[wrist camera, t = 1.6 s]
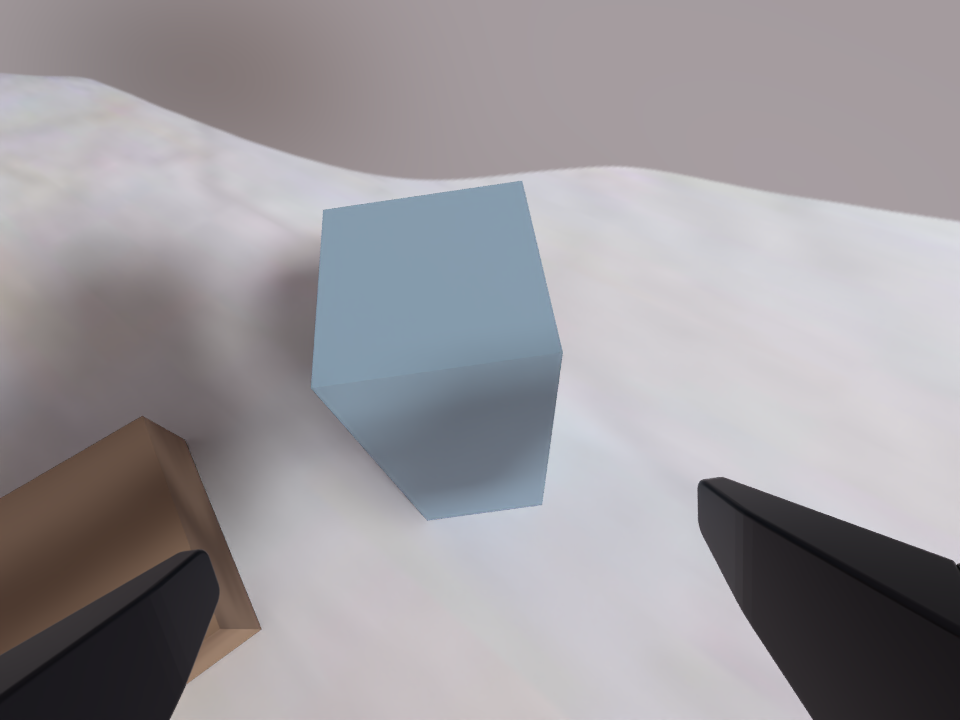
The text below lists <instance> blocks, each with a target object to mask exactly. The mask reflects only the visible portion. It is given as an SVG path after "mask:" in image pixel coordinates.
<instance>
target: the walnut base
mask: <svg viewBox="0 0 960 720" xmlns="http://www.w3.org/2000/svg"><path fill="white" fill-rule="evenodd" d="M196 549H203V550H205V551H206V552H207V553H208V555H209V557H210V560H211V563H212V566H213V569H214V571H215V574H216V577H217V580H218V583H219V588H220V595H219V600H218V603H217V606H216V608H215V611H214V614H213V616H212V619H211V622H210V624H209V627H208V629H207V632H206V635H205V637H204V640H203V643H202V645H201V648H200V650H199V653H198V656H197V658H196V661H195V664H194V666H193V669H192V671H191V674H190V676H189V679H188V681H187V683H189V682H190V681H191V680H193V679H194V678H195V677H197V676H198V675H200V674H201V673H202V672H204V671H205V670H206V669H208V668H209V667H211V666H212V665H213V664H215V663H216V662H217V661H219V660H220V659H221V658H223V657H224V656H226V655H227V654H228V653H230V652H231V651H232V650H234V649H235V648H237V647H238V646H239V645H241V644H242V643H243V642H245V641H246V640H247V639H249V638H250V637H252V636H253V635H254V634H256V633H257V632H258V631H260V630H261V627H260V625H259V622H258V620H257V617H256V615H255V612H254V610H253V607H252V605H251V602H250V600H249V597H248V595H247V593H246V590H245V588H244V585H243V583H242V580H241V578H240V575H239V573H238V570H237V568H236V565H235V563H234V560H233V558H232V555H231V553H230V551H229V548H228V546H227V543H226V541H225V538H224V536H223V533H222V531H221V528H220V526H219V523H218V521H217V518H216V516H215V514H214V511H213V509H212V506H211V504H210V501H209V499H208V496H207V494H206V491H205V489H204V486H203V484H202V481H201V479H200V477H199V474H198V472H197V469H196V467H195V464H194V462H193V459H192V457H191V454H190V452H189V449H188V447H187V444H186V442H185V440H184V439H182V438H181V437H179V436H177V435H175V434H174V433H172V432H170V431H168V430H166V429H165V428H163V427H161V426H159V425H158V424H156V423H154V422H152V421H150V420H149V419H147V418H145V417H143V416H141V417H140V418H138V419H136V420H134V421H133V422H131V423H129V424H128V425H126V426H124V427H122V428H121V429H119V430H117V431H116V432H114V433H112V434H110V435H109V436H107V437H105V438H103V439H102V440H100V441H98V442H97V443H95V444H93V445H91V446H90V447H88V448H86V449H85V450H83V451H81V452H79V453H78V454H76V455H74V456H73V457H71V458H69V459H67V460H66V461H64V462H62V463H60V464H59V465H57V466H55V467H54V468H52V469H50V470H48V471H47V472H45V473H43V474H42V475H40V476H38V477H36V478H35V479H33V480H31V481H30V482H28V483H26V484H24V485H23V486H21V487H19V488H17V489H16V490H14V491H12V492H11V493H9V494H7V495H5V496H4V497H2V498H0V655H1V654H3V653H5V652H7V651H8V650H10V649H12V648H13V647H15V646H17V645H19V644H20V643H22V642H24V641H26V640H27V639H29V638H31V637H33V636H34V635H36V634H38V633H40V632H41V631H43V630H45V629H47V628H48V627H50V626H52V625H53V624H55V623H57V622H59V621H60V620H62V619H64V618H66V617H67V616H69V615H71V614H73V613H74V612H76V611H78V610H80V609H81V608H83V607H85V606H86V605H88V604H90V603H92V602H93V601H95V600H97V599H99V598H100V597H102V596H104V595H106V594H107V593H109V592H111V591H113V590H114V589H116V588H118V587H120V586H121V585H123V584H125V583H126V582H128V581H130V580H132V579H133V578H135V577H137V576H139V575H140V574H142V573H144V572H146V571H147V570H149V569H151V568H153V567H154V566H156V565H158V564H159V563H161V562H163V561H165V560H166V559H168V558H170V557H172V556H173V555H175V554H177V553H179V552H182V551H189V550H196Z"/></svg>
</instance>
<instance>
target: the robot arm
mask: <svg viewBox="0 0 960 720" xmlns="http://www.w3.org/2000/svg"><path fill="white" fill-rule="evenodd" d="M698 523H699V527H700V530H701V533H702V535H703V537H704V539H705V541H706V543H707V545H708V547H709V549H710V551H711V553H712V555H713V557H714V558H715V560H716V562H717V564H718V566H719V568H720V570H721V572H722V574H723V576H724V578H725V580H726V582H727V584H728V585H729V587H730V589H731V591H732V593H733V595H734V597H735V599H736V601H737V603H738V604H739V606H740V608H741V610H742V612H743V613H744V615H745V616H746V618H747V620H748V621H749V623H750V624H751V626H752V628H753V629H754V631H755V632H756V634H757V635H758V637H759V638H760V640H761V641H762V643H763V644H764V646H765V647H766V649H767V650H768V652H769V653H770V655H771V656H772V658H773V660H774V661H775V663H776V664H777V666H778V667H779V669H780V670H781V672H782V673H783V675H784V676H785V678H786V679H787V681H788V682H789V684H790V685H791V687H792V688H793V690H794V692H795V693H796V695H797V696H798V698H799V699H800V701H801V702H802V704H803V705H804V707H805V708H806V710H807V711H808V713H809V714H810V716H811V717H812V719H813V720H960V563H959V564H957V565H956V563H955V562H954V561H953V560H950V559H948V558H945V557H942V556H939V555H937V554H934V553H931V552H928V551H926V550H923V549H920V548H917V547H915V546H912V545H909V544H906V543H903V542H901V541H898V540H895V539H892V538H890V537H887V536H884V535H881V534H879V533H876V532H873V531H870V530H868V529H865V528H862V527H859V526H857V525H854V524H851V523H848V522H846V521H843V520H840V519H837V518H835V517H832V516H829V515H826V514H823V513H821V512H818V511H815V510H812V509H810V508H807V507H804V506H801V505H799V504H796V503H793V502H790V501H788V500H785V499H782V498H779V497H777V496H774V495H771V494H768V493H766V492H763V491H760V490H757V489H755V488H752V487H749V486H746V485H744V484H741V483H738V482H735V481H733V480H730V479H727V478H724V477H717V478H710V479H703V480H701V481H700V482H699V484H698ZM219 595H220V588H219V583H218V580H217V577H216V574H215V571H214V569H213V566H212V563H211V560H210V557H209V555H208V553H207V552H206V551H205V550H203V549H196V550H189V551H182V552H179V553H177V554H175V555H173V556H172V557H170V558H168V559H166V560H165V561H163V562H161V563H159V564H158V565H156V566H154V567H153V568H151V569H149V570H147V571H146V572H144V573H142V574H140V575H139V576H137V577H135V578H133V579H132V580H130V581H128V582H126V583H125V584H123V585H121V586H120V587H118V588H116V589H114V590H113V591H111V592H109V593H107V594H106V595H104V596H102V597H100V598H99V599H97V600H95V601H93V602H92V603H90V604H88V605H86V606H85V607H83V608H81V609H80V610H78V611H76V612H74V613H73V614H71V615H69V616H67V617H66V618H64V619H62V620H60V621H59V622H57V623H55V624H53V625H52V626H50V627H48V628H47V629H45V630H43V631H41V632H40V633H38V634H36V635H34V636H33V637H31V638H29V639H27V640H26V641H24V642H22V643H20V644H19V645H17V646H15V647H13V648H12V649H10V650H8V651H7V652H5V653H3V654H1V655H0V720H170V718H171V716H172V714H173V712H174V710H175V708H176V706H177V704H178V701H179V699H180V697H181V695H182V693H183V690H184V688H185V686H186V684H187V681H188V679H189V676H190V674H191V671H192V669H193V666H194V664H195V661H196V658H197V656H198V653H199V650H200V648H201V645H202V643H203V640H204V637H205V635H206V632H207V629H208V627H209V624H210V622H211V619H212V616H213V614H214V611H215V608H216V606H217V603H218V600H219Z"/></svg>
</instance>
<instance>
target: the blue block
mask: <svg viewBox="0 0 960 720" xmlns="http://www.w3.org/2000/svg"><path fill="white" fill-rule="evenodd" d="M562 354H563V351H562V347H561V343H560V339H559V335H558V330H557V326H556V322H555V318H554V313H553V309H552V305H551V301H550V297H549V292H548V288H547V284H546V280H545V275H544V271H543V267H542V263H541V259H540V254H539V250H538V246H537V242H536V237H535V233H534V229H533V225H532V221H531V216H530V212H529V208H528V204H527V199H526V195H525V191H524V187H523V183H522V181H517V182H510V183H504V184H497V185H490V186H483V187H476V188H469V189H463V190H456V191H449V192H442V193H435V194H429V195H422V196H415V197H408V198H401V199H394V200H388V201H381V202H374V203H367V204H360V205H353V206H347V207H340V208H333V209H326V210H323V221H322V235H321V250H320V264H319V279H318V293H317V308H316V322H315V337H314V351H313V366H312V380H311V389H312V390H313V391H314V392H315V393H316V394H317V396H318V397H319V398H320V399H321V400H322V401H323V402H324V404H325V405H326V406H327V407H328V408H329V409H330V410H331V412H332V413H333V414H334V415H335V416H336V417H337V418H338V419H339V421H340V422H341V423H342V424H343V425H344V426H345V427H346V429H347V430H348V431H349V432H350V433H351V434H352V435H353V436H354V438H355V439H356V440H357V441H358V442H359V443H360V444H361V446H362V447H363V448H364V449H365V450H366V451H367V452H368V454H369V455H370V456H371V457H372V458H373V459H374V460H375V461H376V463H377V464H378V465H379V466H380V467H381V468H382V469H383V471H384V472H385V473H386V474H387V475H388V476H389V477H390V479H391V480H392V481H393V482H394V483H395V484H396V485H397V486H398V488H399V489H400V490H401V491H402V492H403V493H404V494H405V496H406V497H407V498H408V499H409V500H410V501H411V502H412V504H413V505H414V506H415V507H416V508H417V509H418V510H419V511H420V513H421V514H422V515H423V516H424V517H425V518H426V519H427V521H428V520H435V519H442V518H449V517H457V516H464V515H471V514H479V513H486V512H493V511H500V510H508V509H515V508H522V507H529V506H537V505H542V501H543V494H544V486H545V479H546V472H547V464H548V457H549V450H550V442H551V435H552V428H553V420H554V413H555V406H556V398H557V391H558V384H559V376H560V369H561V362H562Z"/></svg>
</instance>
